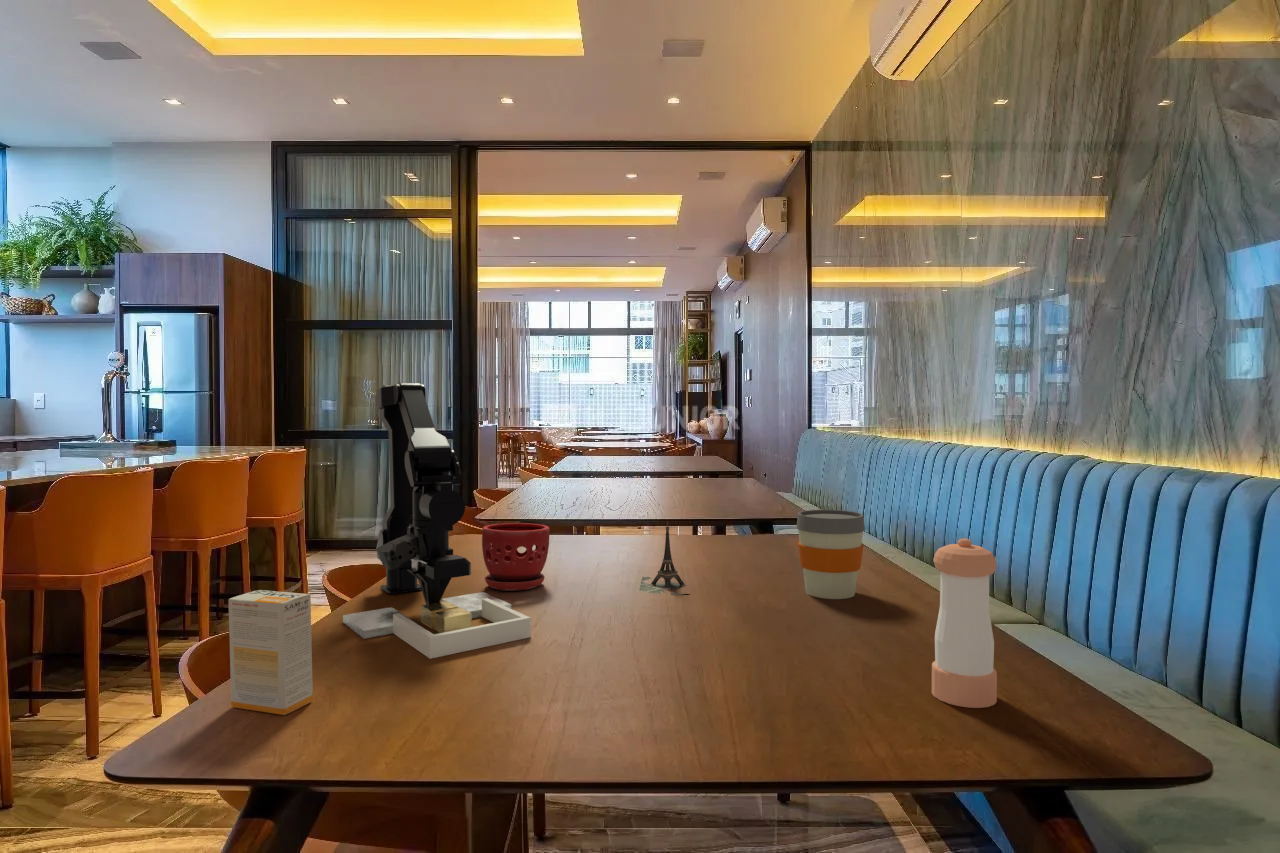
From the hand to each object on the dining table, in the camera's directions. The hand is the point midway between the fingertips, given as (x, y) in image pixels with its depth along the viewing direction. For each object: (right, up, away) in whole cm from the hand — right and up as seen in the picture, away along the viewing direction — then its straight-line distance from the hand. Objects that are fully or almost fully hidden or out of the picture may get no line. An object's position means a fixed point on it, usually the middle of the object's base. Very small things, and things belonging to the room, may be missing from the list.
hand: (431, 611), depth 124 cm
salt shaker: (+74, -2, -34) cm, 82 cm away
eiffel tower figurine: (+40, -1, +23) cm, 46 cm away
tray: (+7, -1, -9) cm, 12 cm away
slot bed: (-1, -1, +1) cm, 2 cm away
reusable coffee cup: (+71, -1, +16) cm, 73 cm away
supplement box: (-9, -2, -36) cm, 37 cm away
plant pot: (+10, -1, +23) cm, 25 cm away
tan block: (+2, -1, -3) cm, 4 cm away
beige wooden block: (+5, -1, -6) cm, 8 cm away
